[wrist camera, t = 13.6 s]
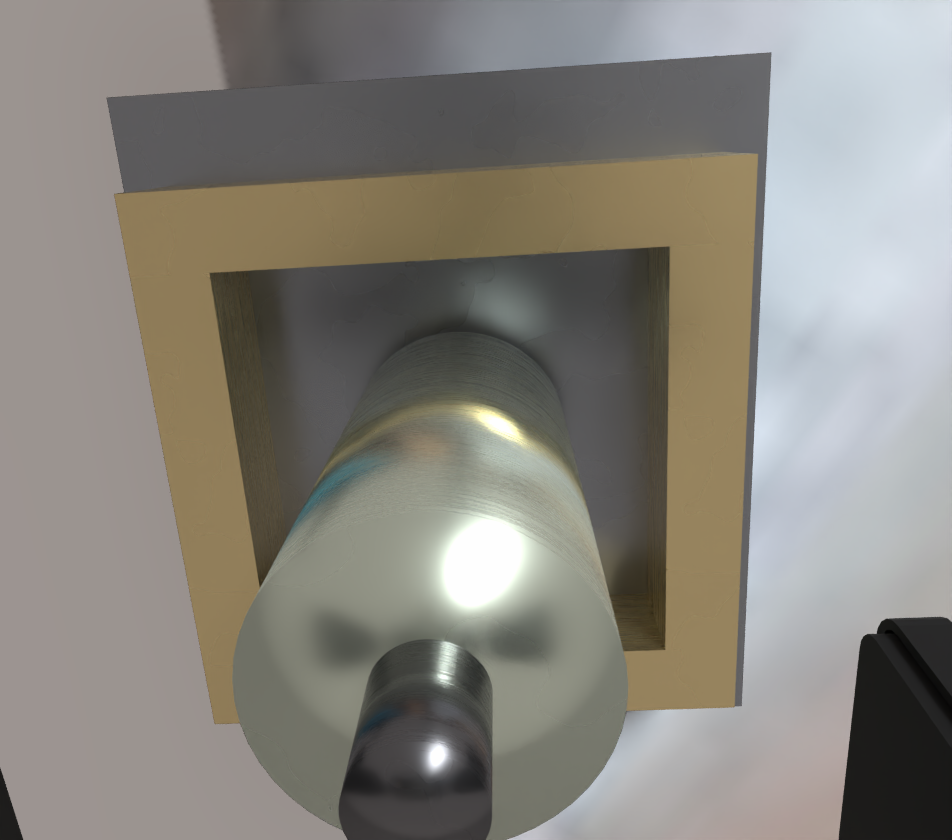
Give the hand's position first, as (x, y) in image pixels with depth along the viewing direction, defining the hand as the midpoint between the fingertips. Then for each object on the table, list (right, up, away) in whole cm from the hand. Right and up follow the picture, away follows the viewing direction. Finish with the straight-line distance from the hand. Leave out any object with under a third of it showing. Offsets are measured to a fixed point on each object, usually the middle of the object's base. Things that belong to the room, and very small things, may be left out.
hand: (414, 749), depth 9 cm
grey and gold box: (0, +4, +15) cm, 16 cm away
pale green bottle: (0, +3, +11) cm, 12 cm away
